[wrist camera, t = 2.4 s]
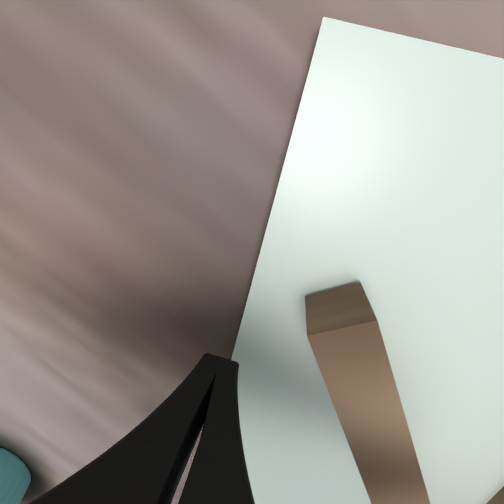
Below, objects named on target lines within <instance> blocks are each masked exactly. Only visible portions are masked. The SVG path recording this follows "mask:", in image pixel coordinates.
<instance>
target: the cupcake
mask: <svg viewBox="0 0 504 504" xmlns="http://www.w3.org/2000/svg"><path fill="white" fill-rule="evenodd" d="M30 482H31V474H30V472H29V470H28V468H27V466H26V465H25V464H24V463H23V462H22V461H21V460H20V459H19V458H18V457H17V456H16V455H14V454H13V453H11V452H9V451H8V450H6V449H4V448H1V447H0V504H20V503H21V500H22V498H23V496H24V494H25V492H26V490H27V488H28V486H29V484H30Z"/></svg>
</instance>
